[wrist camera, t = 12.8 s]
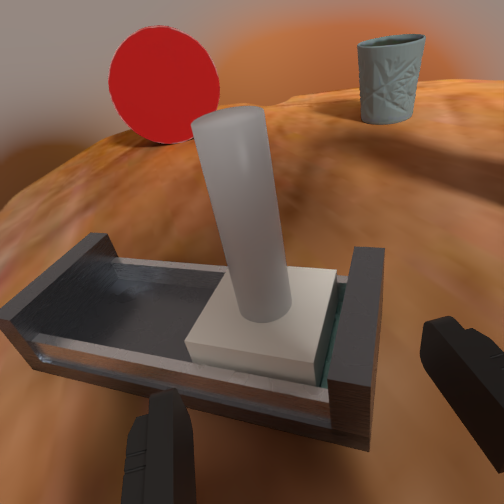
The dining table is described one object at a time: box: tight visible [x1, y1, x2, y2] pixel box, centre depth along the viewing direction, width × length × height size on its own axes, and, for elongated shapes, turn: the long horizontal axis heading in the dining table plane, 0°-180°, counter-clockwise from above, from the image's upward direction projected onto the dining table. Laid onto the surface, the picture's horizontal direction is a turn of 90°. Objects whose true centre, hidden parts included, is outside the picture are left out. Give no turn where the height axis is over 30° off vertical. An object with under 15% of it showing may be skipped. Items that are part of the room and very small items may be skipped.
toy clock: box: [108, 25, 220, 144], centre depth 70 cm, size 20×6×20 cm, turn 103°
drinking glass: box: [357, 34, 426, 125], centre depth 62 cm, size 10×10×12 cm
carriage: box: [184, 106, 338, 387], centre depth 22 cm, size 8×8×15 cm
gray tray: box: [0, 233, 385, 452], centre depth 27 cm, size 11×26×6 cm, turn 71°
